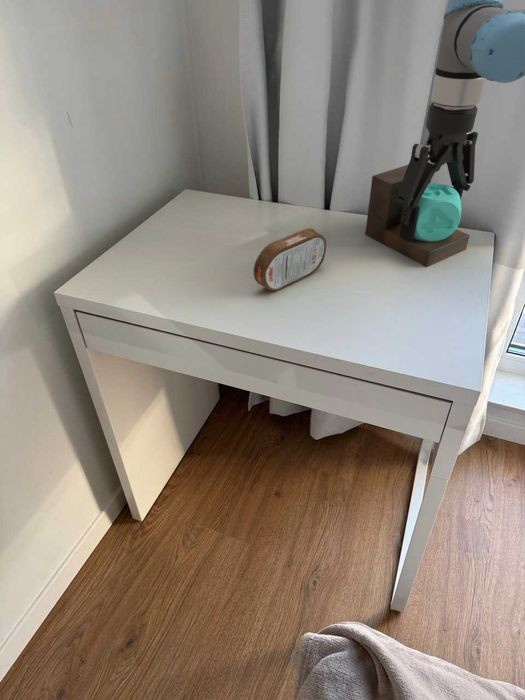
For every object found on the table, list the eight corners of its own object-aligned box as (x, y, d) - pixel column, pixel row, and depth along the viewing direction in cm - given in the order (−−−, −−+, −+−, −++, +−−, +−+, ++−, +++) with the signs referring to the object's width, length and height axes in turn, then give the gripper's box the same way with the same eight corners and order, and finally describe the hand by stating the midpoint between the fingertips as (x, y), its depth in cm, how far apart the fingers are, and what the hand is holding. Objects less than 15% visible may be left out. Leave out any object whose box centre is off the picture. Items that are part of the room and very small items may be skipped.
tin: (315, 262, 92) (318, 220, 87) (327, 269, 90) (331, 226, 85) (252, 292, 85) (251, 248, 80) (264, 300, 83) (263, 255, 78)
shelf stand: (465, 249, 95) (482, 188, 87) (426, 267, 90) (440, 204, 82) (403, 220, 105) (413, 162, 97) (365, 234, 100) (372, 175, 93)
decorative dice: (455, 241, 91) (465, 199, 86) (412, 243, 91) (420, 201, 86) (440, 221, 97) (449, 181, 92) (400, 223, 97) (406, 183, 92)
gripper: (479, 88, 87) (451, 207, 101) (384, 111, 77) (368, 240, 91) (518, 96, 82) (483, 220, 96) (422, 122, 72) (398, 256, 86)
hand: (427, 230), depth 94 cm, fingers closed on decorative dice, 11 cm apart
